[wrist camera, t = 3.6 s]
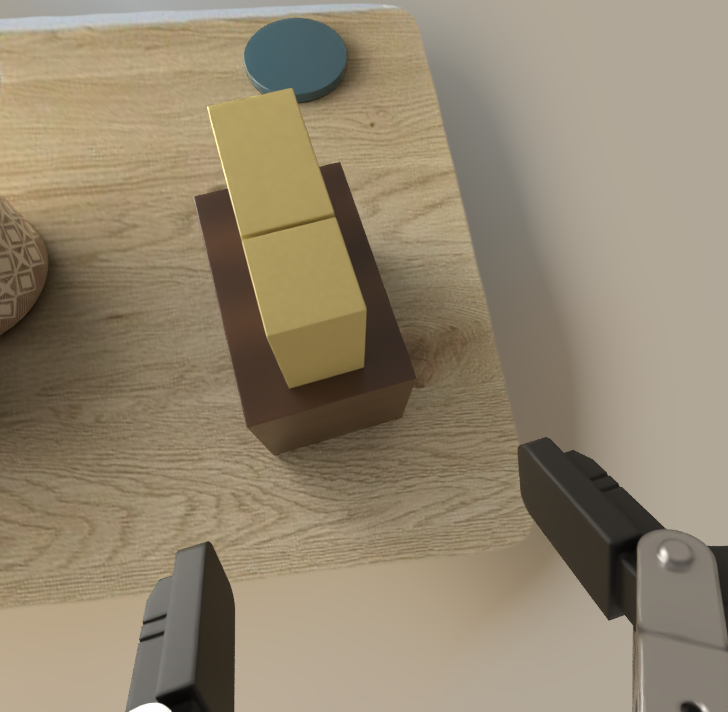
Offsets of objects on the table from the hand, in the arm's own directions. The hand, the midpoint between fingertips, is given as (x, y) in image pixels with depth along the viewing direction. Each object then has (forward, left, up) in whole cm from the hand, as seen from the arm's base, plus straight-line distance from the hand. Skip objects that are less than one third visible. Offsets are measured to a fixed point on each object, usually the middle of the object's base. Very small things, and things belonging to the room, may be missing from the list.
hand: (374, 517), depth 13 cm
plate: (-24, -37, -25) cm, 51 cm away
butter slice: (-5, -10, -15) cm, 19 cm away
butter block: (-8, -16, -15) cm, 23 cm away
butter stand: (-6, -14, -25) cm, 29 cm away
